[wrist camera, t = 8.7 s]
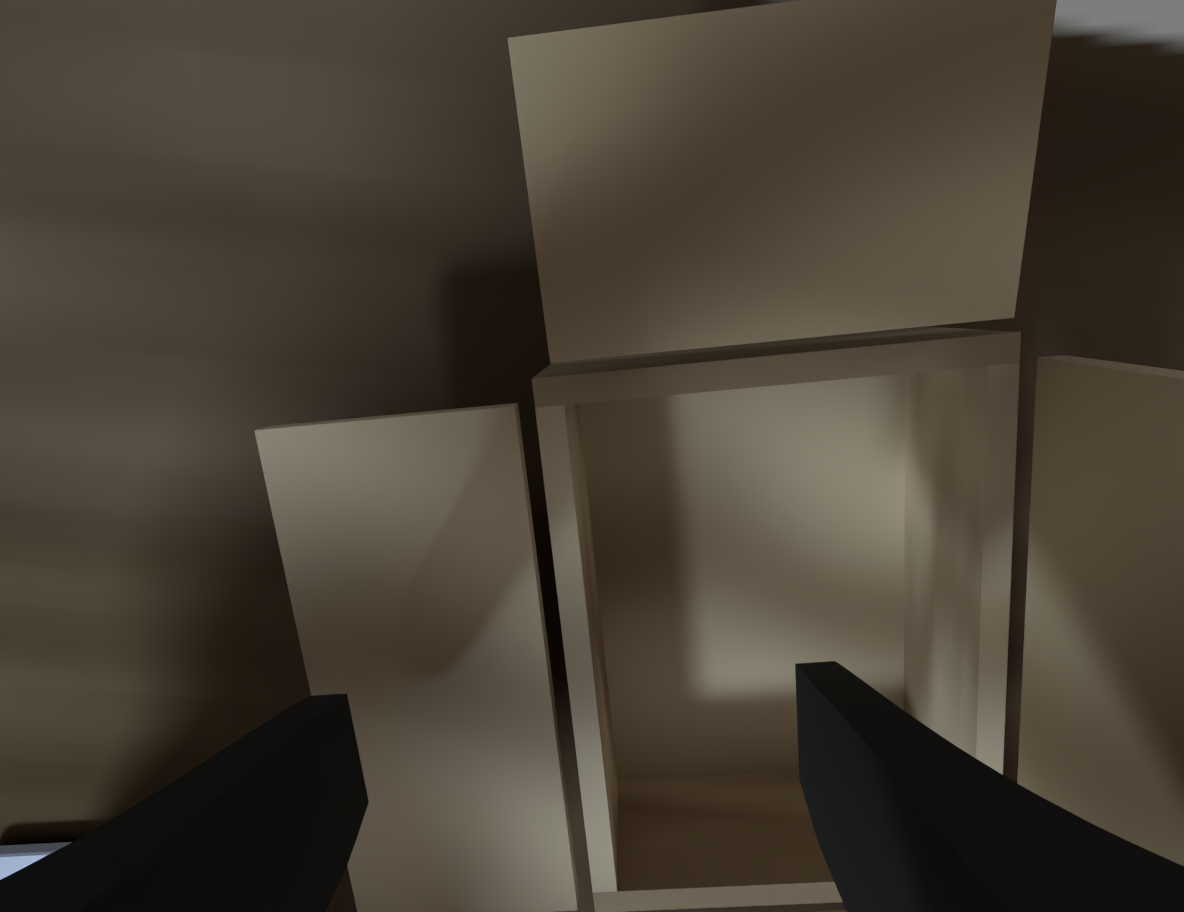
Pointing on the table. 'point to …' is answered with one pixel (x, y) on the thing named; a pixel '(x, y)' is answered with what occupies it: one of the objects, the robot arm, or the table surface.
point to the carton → (650, 607)
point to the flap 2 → (1107, 600)
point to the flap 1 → (780, 170)
